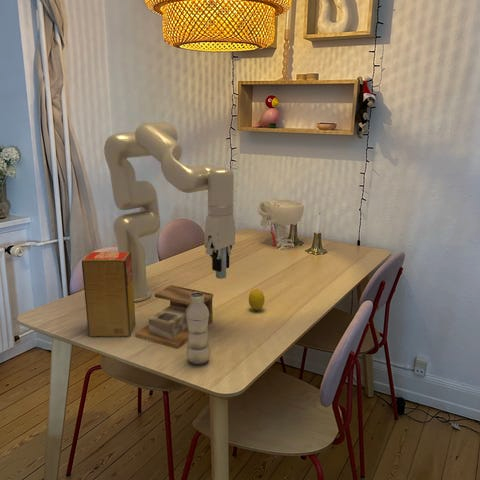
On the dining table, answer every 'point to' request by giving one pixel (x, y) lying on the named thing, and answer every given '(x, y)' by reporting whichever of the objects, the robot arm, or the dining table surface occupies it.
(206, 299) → the stand
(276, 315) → the dining table surface
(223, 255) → the peg
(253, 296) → the lemon
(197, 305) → the plastic bottle
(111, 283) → the food packaging
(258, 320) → the dining table surface
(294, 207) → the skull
